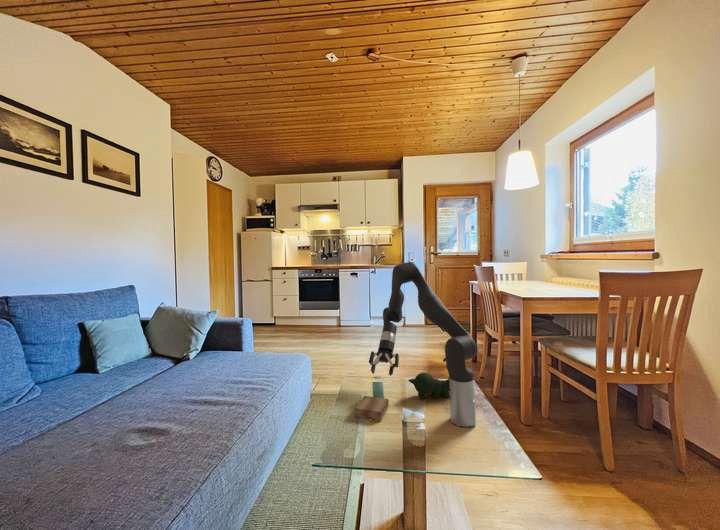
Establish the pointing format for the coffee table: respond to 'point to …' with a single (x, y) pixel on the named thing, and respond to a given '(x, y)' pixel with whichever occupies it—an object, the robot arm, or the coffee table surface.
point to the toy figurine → (430, 385)
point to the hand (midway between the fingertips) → (381, 373)
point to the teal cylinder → (378, 388)
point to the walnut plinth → (371, 408)
